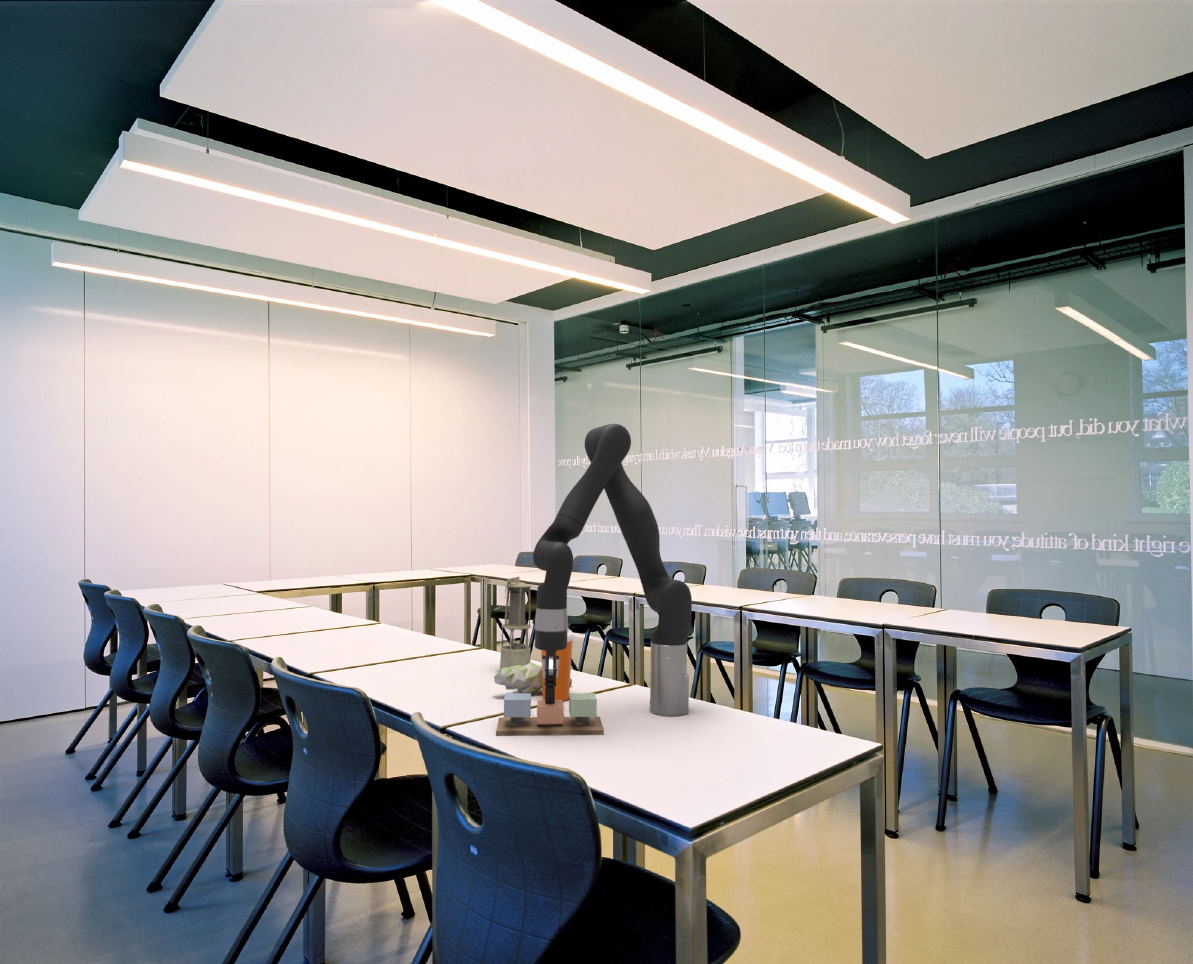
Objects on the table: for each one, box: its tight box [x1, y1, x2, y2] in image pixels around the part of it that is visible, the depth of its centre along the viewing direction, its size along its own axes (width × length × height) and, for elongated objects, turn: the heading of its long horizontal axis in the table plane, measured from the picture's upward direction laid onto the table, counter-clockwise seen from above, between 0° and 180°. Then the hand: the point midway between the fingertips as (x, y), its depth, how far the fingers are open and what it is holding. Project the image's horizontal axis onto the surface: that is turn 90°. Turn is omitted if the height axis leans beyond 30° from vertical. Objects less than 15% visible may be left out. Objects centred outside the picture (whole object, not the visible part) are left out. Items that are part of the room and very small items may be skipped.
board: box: [495, 716, 605, 737], centre depth 168 cm, size 24×11×3 cm, turn 95°
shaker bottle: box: [540, 623, 574, 702], centre depth 196 cm, size 9×9×20 cm
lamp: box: [493, 576, 532, 673], centre depth 226 cm, size 10×13×30 cm
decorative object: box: [493, 662, 573, 694], centre depth 202 cm, size 9×10×25 cm
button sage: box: [568, 692, 598, 717], centre depth 169 cm, size 6×6×4 cm
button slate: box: [503, 692, 532, 717], centre depth 168 cm, size 6×6×4 cm
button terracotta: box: [536, 699, 565, 724], centre depth 168 cm, size 6×6×4 cm
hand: (549, 703), depth 169 cm, fingers closed
